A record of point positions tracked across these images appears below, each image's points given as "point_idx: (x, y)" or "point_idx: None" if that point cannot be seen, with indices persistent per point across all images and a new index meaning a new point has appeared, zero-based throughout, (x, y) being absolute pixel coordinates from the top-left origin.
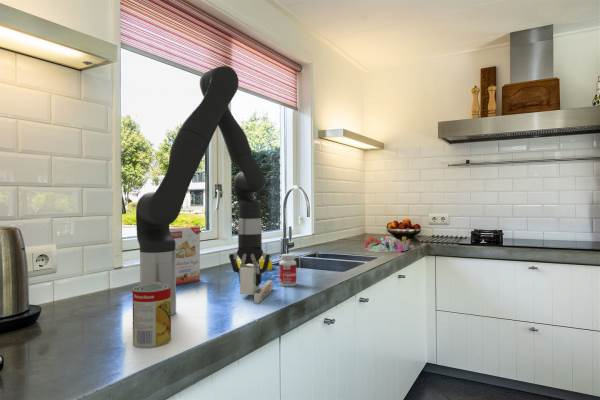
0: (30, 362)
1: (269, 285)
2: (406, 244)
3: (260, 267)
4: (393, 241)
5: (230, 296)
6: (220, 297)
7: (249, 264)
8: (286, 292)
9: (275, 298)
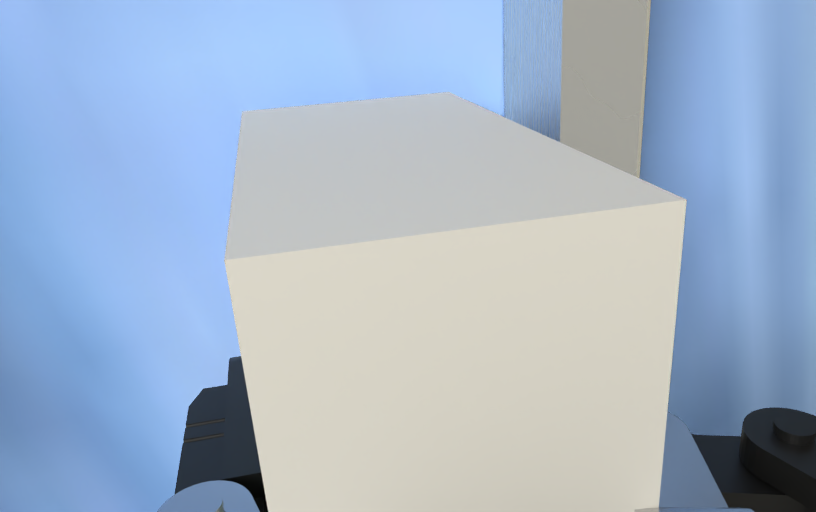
0: None
1: (639, 168)
2: None
3: (716, 496)
4: None
5: (111, 420)
6: (2, 499)
7: (348, 409)
8: (791, 36)
9: (682, 364)
